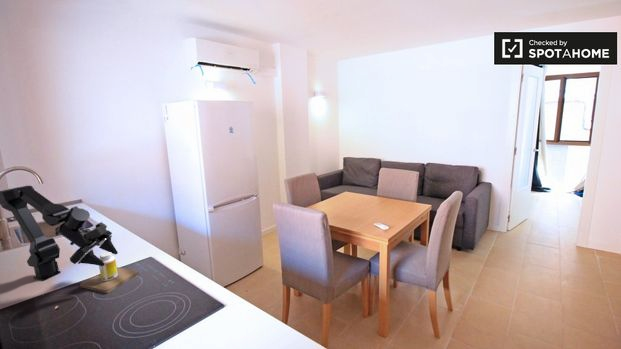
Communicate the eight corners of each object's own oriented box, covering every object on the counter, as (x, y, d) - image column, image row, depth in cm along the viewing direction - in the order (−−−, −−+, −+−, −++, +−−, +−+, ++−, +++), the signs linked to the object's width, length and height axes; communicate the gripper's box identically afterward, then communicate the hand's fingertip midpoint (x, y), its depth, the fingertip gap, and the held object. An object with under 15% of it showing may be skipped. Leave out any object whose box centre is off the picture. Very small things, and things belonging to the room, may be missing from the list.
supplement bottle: (120, 273, 124) (116, 250, 122) (113, 280, 119) (109, 257, 116) (106, 274, 124) (102, 251, 121) (98, 281, 118) (94, 257, 116)
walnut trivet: (107, 293, 113) (107, 290, 112) (80, 287, 117) (80, 284, 117) (138, 274, 126) (138, 271, 125) (113, 268, 130) (113, 266, 130)
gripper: (72, 229, 106) (110, 256, 110) (103, 211, 124) (135, 235, 128) (53, 251, 107) (91, 277, 111) (86, 230, 126) (118, 253, 129)
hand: (110, 259), depth 119 cm, fingers open, 9 cm apart
